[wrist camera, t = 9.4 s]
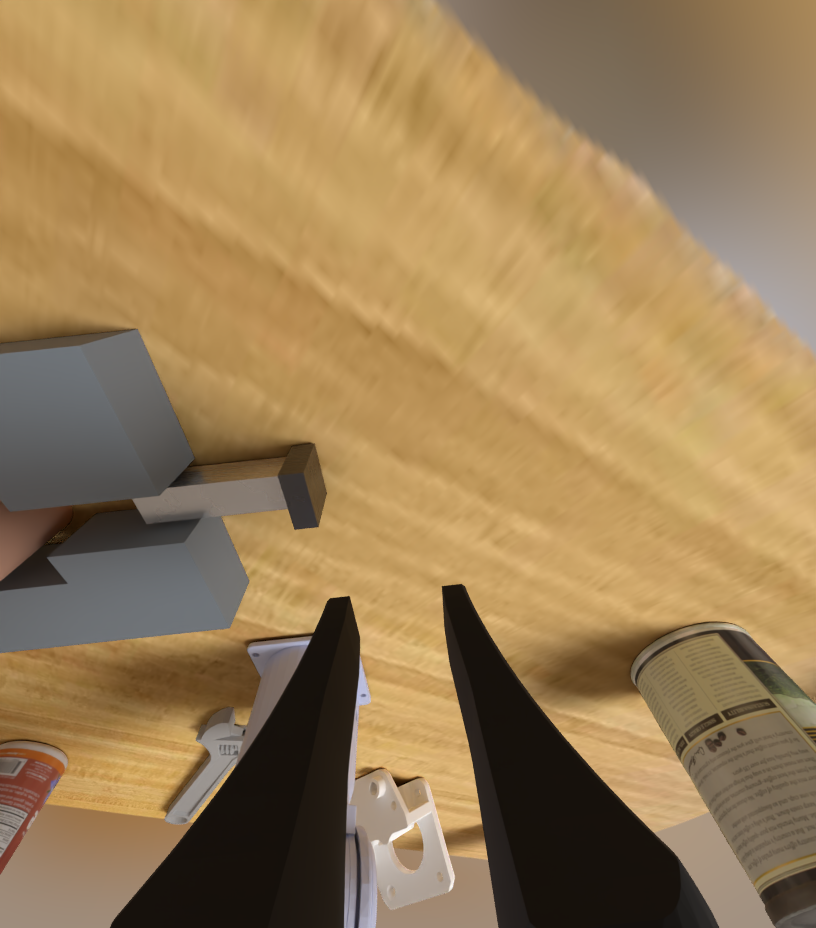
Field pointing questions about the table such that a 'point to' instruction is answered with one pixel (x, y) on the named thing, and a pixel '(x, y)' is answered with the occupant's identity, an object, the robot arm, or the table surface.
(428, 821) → the mounting bracket
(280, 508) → the lock pin
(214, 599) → the mount board
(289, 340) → the table surface
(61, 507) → the peg
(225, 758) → the adjustable wrench
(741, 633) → the coffee can
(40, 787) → the pill bottle
